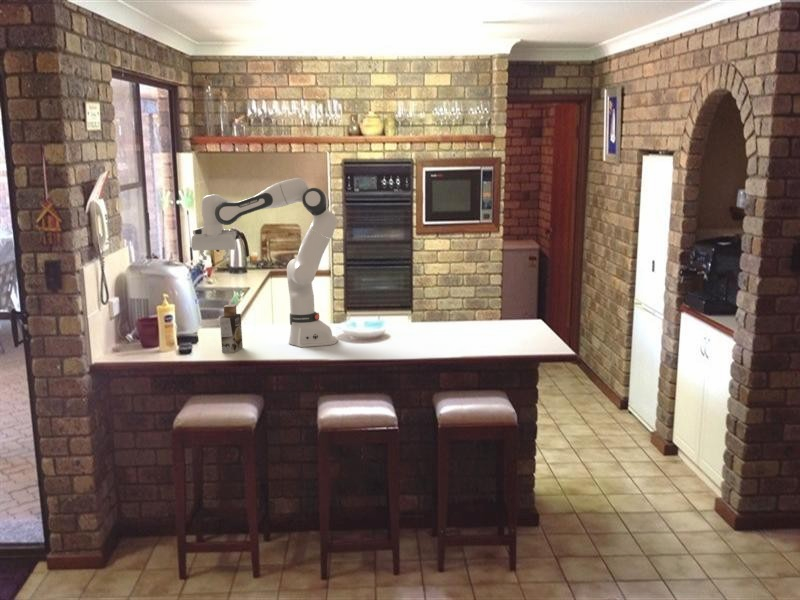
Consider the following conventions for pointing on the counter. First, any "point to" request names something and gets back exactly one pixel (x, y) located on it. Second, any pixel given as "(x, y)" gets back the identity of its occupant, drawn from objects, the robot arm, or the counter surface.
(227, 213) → the robot arm
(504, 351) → the counter surface
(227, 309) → the walnut block
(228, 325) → the coffee box
